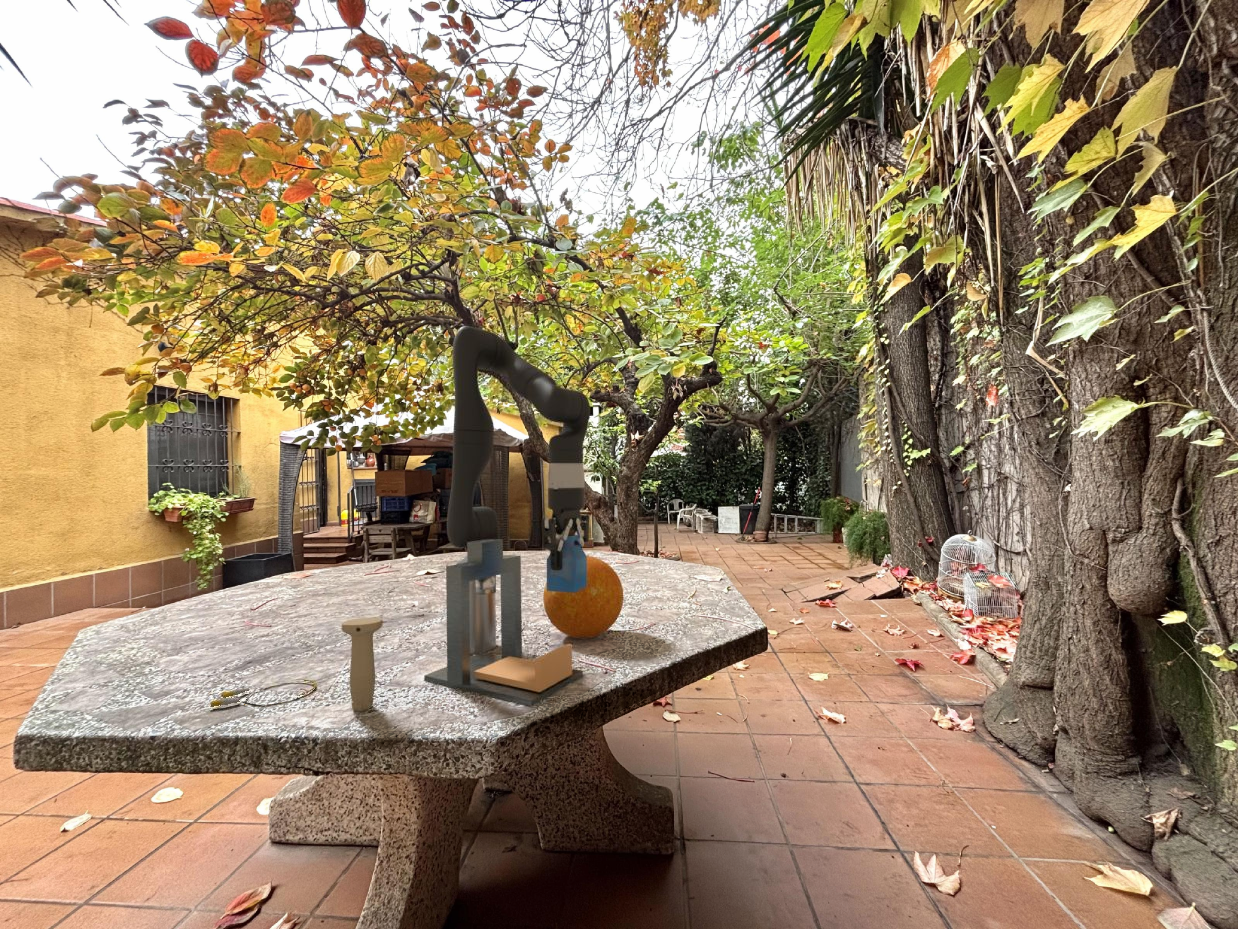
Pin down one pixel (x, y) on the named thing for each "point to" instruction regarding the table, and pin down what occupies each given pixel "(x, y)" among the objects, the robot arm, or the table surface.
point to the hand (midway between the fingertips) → (566, 566)
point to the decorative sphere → (587, 603)
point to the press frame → (483, 568)
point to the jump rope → (235, 700)
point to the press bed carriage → (530, 670)
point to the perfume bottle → (568, 568)
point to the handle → (362, 660)
